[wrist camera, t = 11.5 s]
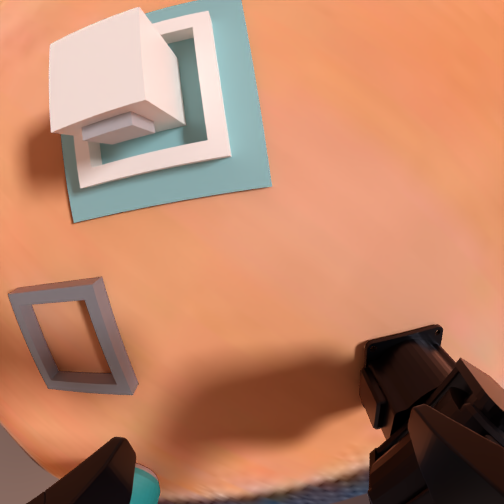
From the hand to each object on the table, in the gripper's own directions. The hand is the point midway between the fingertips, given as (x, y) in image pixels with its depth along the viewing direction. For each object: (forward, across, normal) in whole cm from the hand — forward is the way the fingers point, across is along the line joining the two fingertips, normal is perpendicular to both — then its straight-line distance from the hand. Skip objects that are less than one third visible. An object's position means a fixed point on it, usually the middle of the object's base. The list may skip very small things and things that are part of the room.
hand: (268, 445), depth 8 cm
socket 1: (+12, +15, +2) cm, 19 cm away
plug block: (+12, +5, -13) cm, 18 cm away
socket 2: (+12, +5, -13) cm, 18 cm away
